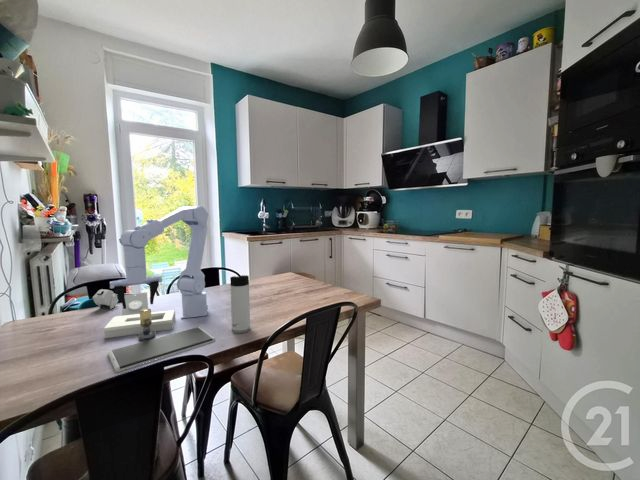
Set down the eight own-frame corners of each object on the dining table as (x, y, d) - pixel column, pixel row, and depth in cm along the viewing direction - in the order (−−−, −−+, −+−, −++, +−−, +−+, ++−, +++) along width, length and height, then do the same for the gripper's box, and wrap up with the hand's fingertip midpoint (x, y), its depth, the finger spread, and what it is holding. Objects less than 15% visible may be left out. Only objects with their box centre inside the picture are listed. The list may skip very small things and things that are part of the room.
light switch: (122, 320, 106) (122, 293, 116) (123, 330, 109) (123, 303, 119) (148, 315, 111) (146, 290, 121) (149, 326, 114) (147, 300, 124)
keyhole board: (175, 318, 112) (175, 309, 112) (172, 329, 102) (171, 319, 102) (114, 325, 105) (114, 316, 105) (104, 338, 95) (104, 328, 95)
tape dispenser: (103, 311, 125) (87, 298, 118) (112, 298, 130) (98, 285, 123) (115, 312, 124) (100, 299, 117) (124, 298, 129) (110, 286, 122)
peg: (156, 333, 99) (154, 307, 98) (153, 339, 94) (152, 311, 93) (140, 335, 97) (138, 308, 96) (137, 342, 92) (135, 313, 91)
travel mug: (234, 335, 97) (232, 277, 95) (230, 328, 103) (228, 274, 101) (252, 331, 100) (250, 275, 98) (247, 325, 106) (246, 272, 104)
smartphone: (216, 343, 93) (215, 337, 93) (115, 375, 75) (115, 368, 75) (200, 330, 103) (199, 326, 103) (107, 356, 84) (107, 350, 84)
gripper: (159, 261, 102) (161, 298, 104) (108, 266, 94) (112, 306, 95) (161, 265, 96) (164, 304, 98) (108, 270, 88) (111, 312, 90)
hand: (138, 305), depth 96 cm, fingers open, 7 cm apart
